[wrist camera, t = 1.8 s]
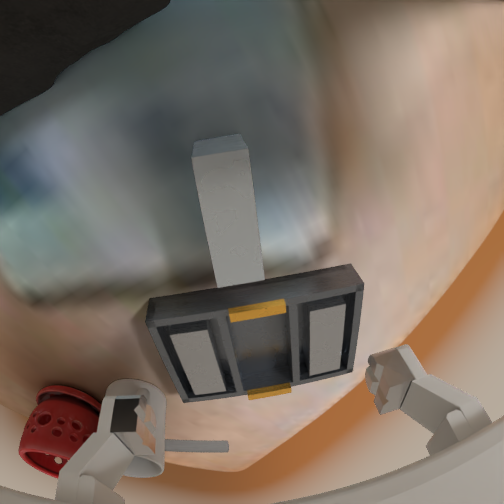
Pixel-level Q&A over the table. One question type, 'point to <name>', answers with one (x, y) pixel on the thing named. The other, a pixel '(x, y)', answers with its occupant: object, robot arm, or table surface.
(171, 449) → the half round rod
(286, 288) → the rack
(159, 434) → the mug
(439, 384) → the robot arm
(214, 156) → the grey rectangular block
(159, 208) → the table surface
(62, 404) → the plant pot
